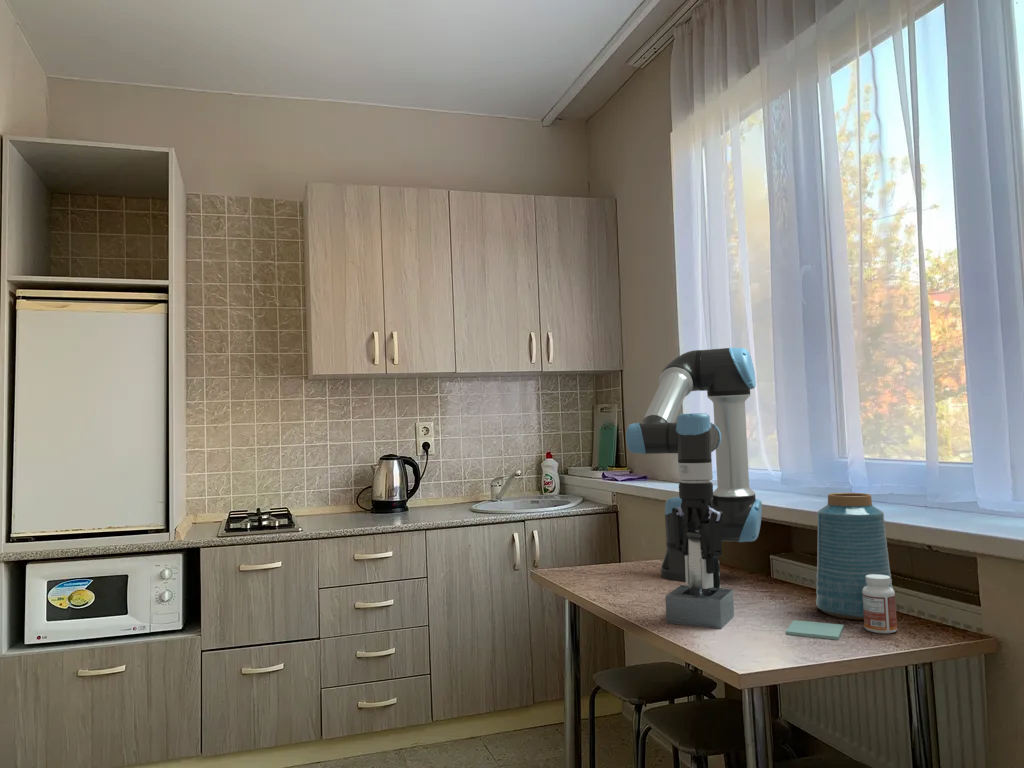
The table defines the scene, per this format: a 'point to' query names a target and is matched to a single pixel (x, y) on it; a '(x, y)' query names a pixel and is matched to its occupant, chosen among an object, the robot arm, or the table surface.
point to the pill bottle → (879, 605)
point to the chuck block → (700, 607)
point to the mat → (815, 629)
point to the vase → (849, 553)
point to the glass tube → (695, 564)
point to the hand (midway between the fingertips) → (699, 585)
